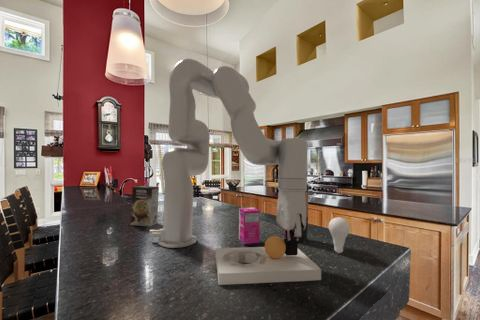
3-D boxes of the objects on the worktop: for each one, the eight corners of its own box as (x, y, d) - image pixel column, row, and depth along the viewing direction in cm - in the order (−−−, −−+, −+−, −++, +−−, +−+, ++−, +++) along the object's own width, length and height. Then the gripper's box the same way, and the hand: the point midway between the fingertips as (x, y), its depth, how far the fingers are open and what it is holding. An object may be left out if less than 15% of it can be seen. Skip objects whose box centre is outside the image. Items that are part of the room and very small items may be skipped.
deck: (218, 284, 53) (219, 273, 53) (215, 256, 69) (215, 248, 69) (321, 280, 56) (321, 269, 56) (295, 254, 72) (295, 246, 72)
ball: (281, 265, 60) (264, 255, 60) (274, 256, 66) (258, 247, 65) (293, 246, 61) (275, 236, 60) (285, 239, 66) (269, 229, 65)
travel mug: (305, 236, 90) (306, 183, 91) (309, 243, 83) (310, 185, 83) (285, 235, 91) (286, 183, 91) (286, 242, 83) (288, 184, 84)
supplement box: (238, 240, 84) (238, 207, 84) (253, 239, 86) (254, 207, 86) (243, 245, 79) (244, 210, 79) (260, 244, 80) (260, 210, 81)
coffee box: (130, 225, 100) (131, 186, 101) (139, 221, 107) (140, 185, 107) (150, 226, 99) (151, 187, 99) (158, 223, 105) (159, 186, 105)
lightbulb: (323, 251, 76) (324, 216, 76) (338, 248, 78) (339, 214, 78) (338, 258, 70) (339, 220, 70) (354, 255, 73) (354, 219, 73)
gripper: (270, 182, 71) (269, 245, 70) (288, 187, 56) (286, 266, 56) (294, 182, 72) (293, 244, 72) (318, 187, 57) (317, 265, 57)
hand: (290, 254), depth 64 cm, fingers closed
